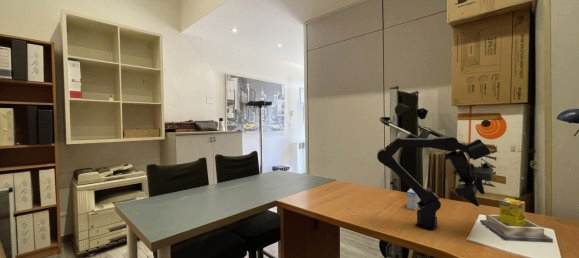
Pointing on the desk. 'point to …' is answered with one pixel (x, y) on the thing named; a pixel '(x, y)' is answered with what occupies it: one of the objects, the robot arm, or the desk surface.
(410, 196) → the medicine box
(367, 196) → the desk surface
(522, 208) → the supplement box
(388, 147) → the robot arm
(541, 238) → the board
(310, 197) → the desk surface
